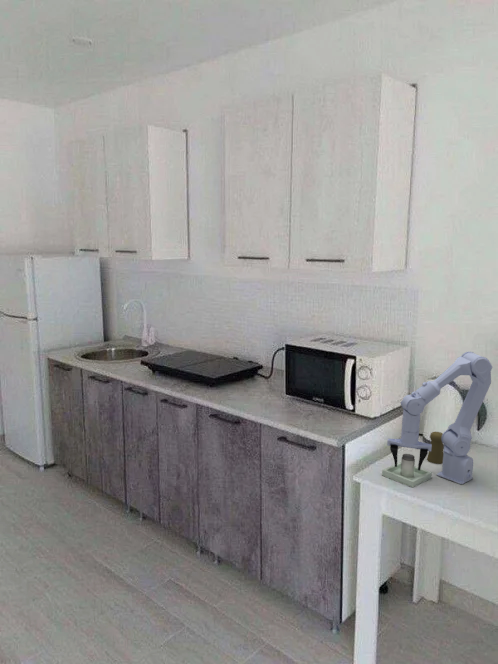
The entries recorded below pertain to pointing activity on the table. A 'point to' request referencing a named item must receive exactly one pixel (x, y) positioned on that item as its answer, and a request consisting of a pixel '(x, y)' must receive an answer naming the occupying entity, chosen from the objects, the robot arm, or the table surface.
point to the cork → (436, 448)
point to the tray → (395, 475)
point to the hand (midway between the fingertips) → (407, 467)
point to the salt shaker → (407, 465)
